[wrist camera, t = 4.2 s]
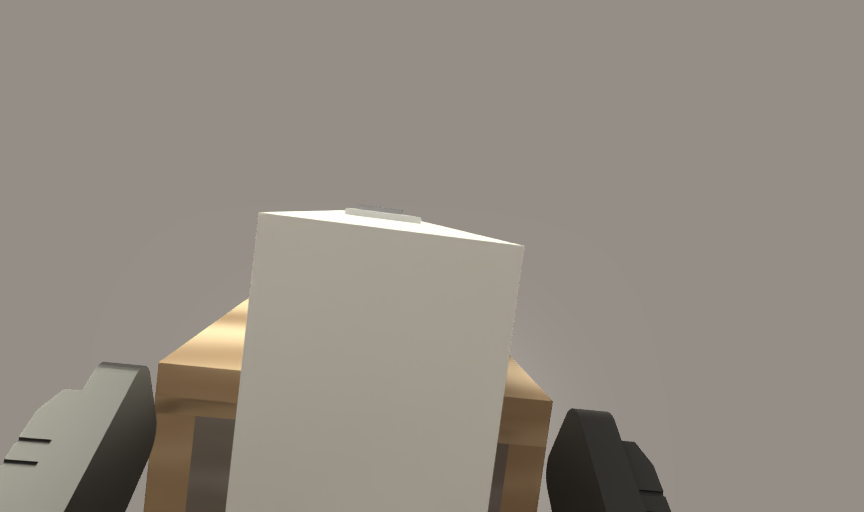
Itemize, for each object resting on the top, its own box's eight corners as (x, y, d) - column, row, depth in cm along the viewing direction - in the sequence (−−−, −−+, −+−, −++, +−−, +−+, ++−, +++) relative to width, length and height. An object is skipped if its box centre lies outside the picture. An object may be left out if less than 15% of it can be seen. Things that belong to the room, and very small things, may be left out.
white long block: (481, 558, 9) (528, 219, 9) (222, 541, 9) (261, 185, 9) (403, 309, 33) (415, 212, 33) (330, 300, 33) (342, 202, 32)
